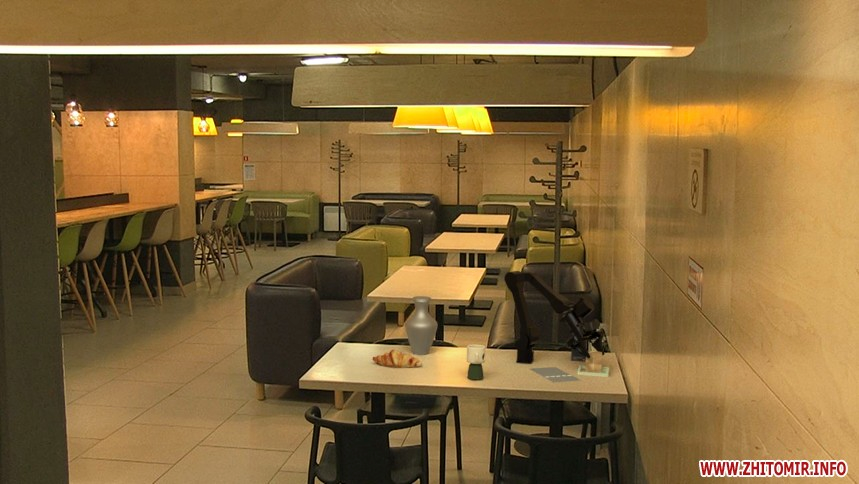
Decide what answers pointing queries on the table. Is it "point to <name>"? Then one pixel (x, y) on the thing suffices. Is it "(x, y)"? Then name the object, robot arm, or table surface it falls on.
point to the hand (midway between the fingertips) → (596, 356)
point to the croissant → (397, 360)
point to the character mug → (475, 361)
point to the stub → (594, 362)
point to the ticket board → (555, 374)
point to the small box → (578, 354)
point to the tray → (603, 373)
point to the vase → (421, 327)
